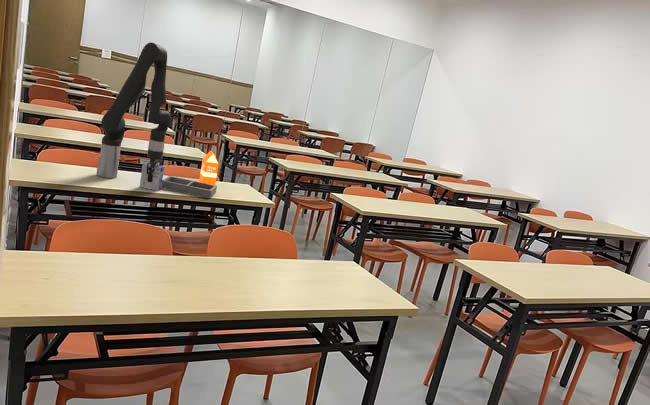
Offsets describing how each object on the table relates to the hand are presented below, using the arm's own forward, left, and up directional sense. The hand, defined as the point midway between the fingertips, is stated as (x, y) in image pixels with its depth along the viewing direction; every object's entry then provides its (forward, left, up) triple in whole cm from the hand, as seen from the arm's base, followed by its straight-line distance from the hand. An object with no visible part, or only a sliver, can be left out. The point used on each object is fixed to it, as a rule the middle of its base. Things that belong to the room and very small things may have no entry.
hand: (151, 180), depth 252 cm
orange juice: (+22, +32, -4) cm, 39 cm away
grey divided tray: (+17, +12, -4) cm, 21 cm away
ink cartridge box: (0, 0, -4) cm, 4 cm away
